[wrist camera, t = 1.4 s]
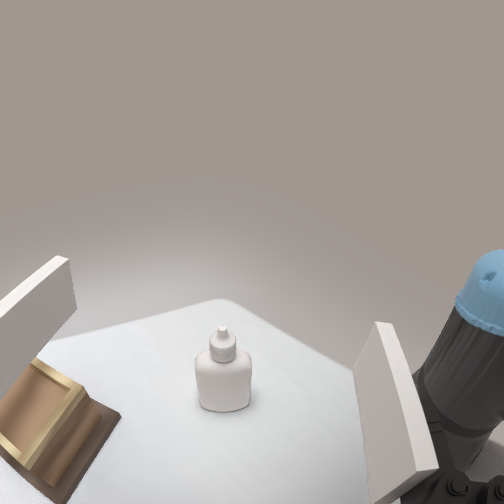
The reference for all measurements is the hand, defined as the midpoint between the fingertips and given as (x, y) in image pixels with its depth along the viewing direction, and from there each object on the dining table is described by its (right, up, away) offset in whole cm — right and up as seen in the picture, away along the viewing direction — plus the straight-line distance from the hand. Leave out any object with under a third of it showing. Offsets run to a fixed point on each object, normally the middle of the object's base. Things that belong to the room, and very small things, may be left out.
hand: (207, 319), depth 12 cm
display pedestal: (-22, -18, +12) cm, 31 cm away
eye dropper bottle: (-1, -15, +20) cm, 25 cm away
